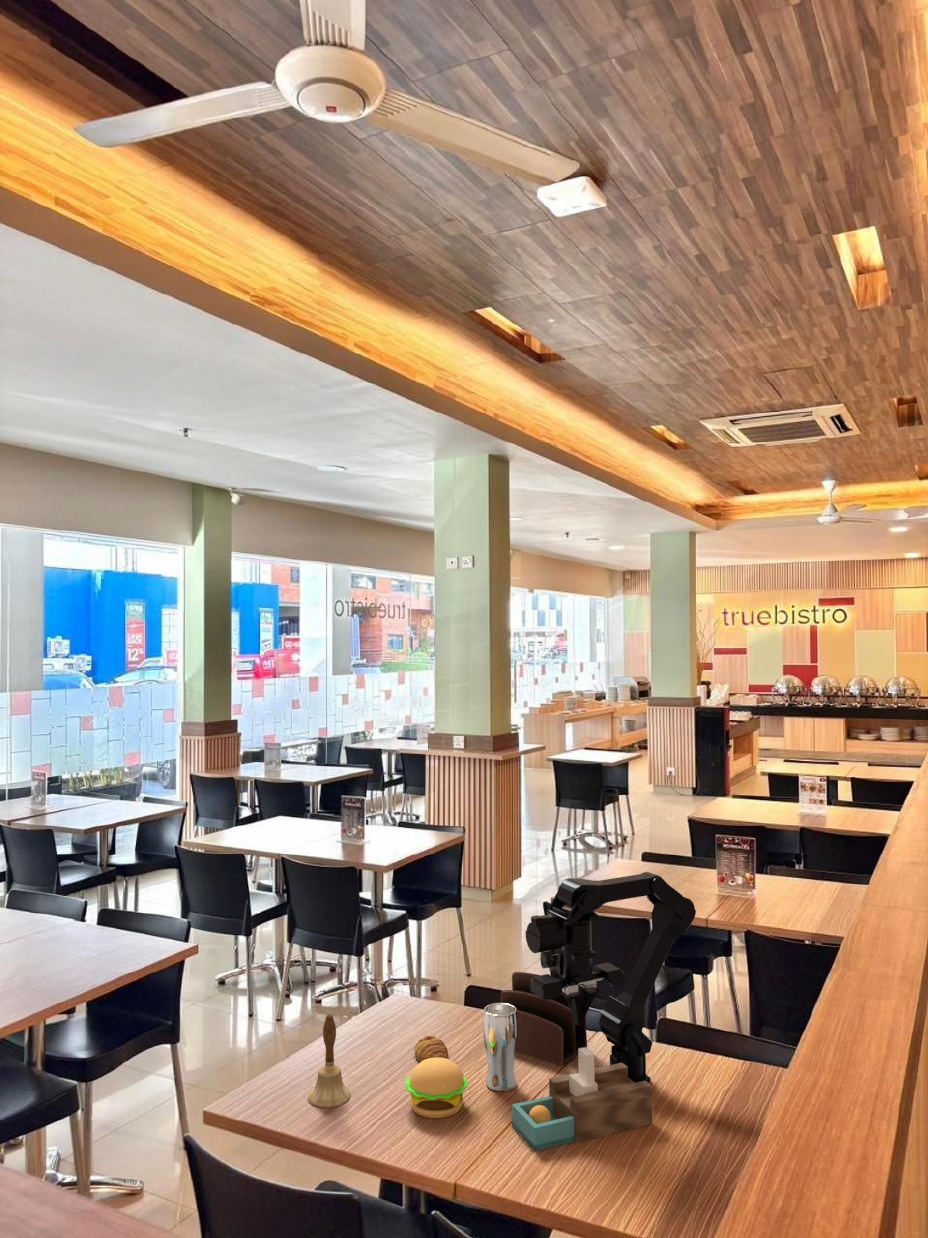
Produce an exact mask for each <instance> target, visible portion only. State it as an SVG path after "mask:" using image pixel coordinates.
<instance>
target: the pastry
mask: <svg viewBox="0 0 928 1238" xmlns="http://www.w3.org/2000/svg"><path fill="white" fill-rule="evenodd" d="M413 1050H414V1055H415V1056H414V1057H415V1058H416V1060H417V1061H418V1062H419V1063H420V1062H422V1061H423V1060H425V1059H429V1058H446V1059H449V1058H450V1056H449V1050H448V1047H447V1046H446V1044H445V1043H444V1041H443V1040H442V1039H440V1038H437V1037H436V1036H435V1035H434V1036H433V1035H426V1036H424V1037H422V1038H420V1039H419V1040H418V1041H417V1042H416V1044H415V1046H414V1048H413Z"/></svg>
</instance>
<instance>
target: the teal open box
mask: <svg viewBox="0 0 928 1238" xmlns="http://www.w3.org/2000/svg"><path fill="white" fill-rule="evenodd" d="M537 1105H542V1106H544V1107H546V1108H547V1109H548V1110H549V1112H550V1114H551V1121H549V1122H544V1123H540V1124H536V1123H535V1122H534V1121H533V1120H532V1119H531V1118H530V1117H529V1113H530V1111H531V1109H532V1108H533V1107H535V1106H537ZM511 1128H513V1129H514V1131H515V1132H517V1134H518V1135H519V1136H520V1137H521V1138H522V1140H524V1141H525V1142H526V1144H527V1145H528V1146H529V1147H530V1148H531V1149H532V1150H533V1151H534V1152H539V1151H542V1150H547V1149H549V1148H554V1147H558V1146H563V1145H566V1144H571V1143H574V1142H575V1119H574V1118H573V1117H572V1116H570V1117H565V1118H561V1119H557V1118H556V1117H555V1116H554V1115H553V1098H552V1097H551V1096H549V1095H548V1096H544V1097H540V1098H534V1099H531V1100H527V1101H522V1102H518V1103H513V1104H511ZM575 1143H576V1142H575Z"/></svg>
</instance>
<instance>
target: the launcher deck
mask: <svg viewBox="0 0 928 1238" xmlns="http://www.w3.org/2000/svg"><path fill="white" fill-rule="evenodd" d="M576 1073H579V1071H578V1072H573V1073H568V1074H563V1075H558V1076H555V1077H554V1076H553V1077H550V1078H549V1079H548V1092H549V1093H548V1096H551V1097H552V1098H553V1115H554V1116H555V1117H556V1118H557V1119H561V1118H565V1117H570V1116H572V1117H573V1118H574V1119H575V1143H576V1144H578V1143H581V1142H585V1141H589V1140H594V1139H598V1138H602V1137H605V1136H608V1135H614V1134H617V1133H622V1132H626V1131H630V1130H633V1129H637V1128H641V1127H645V1126H649V1125H653V1098H652V1097H653V1094H652V1093H653V1090H652V1087H653V1086H652V1084H651V1083H649V1081H648V1082H647V1081H641V1082H637V1083H634V1082H633V1081H632V1080H630V1079H629V1078H628V1067H627V1066H626V1065H624V1064H623V1063H618V1064H613V1065H610V1064H609V1065H605V1066H599V1067H594V1079H595V1082H596V1083H597V1084H598V1091H597V1092H593V1093H588V1094H584V1095H580V1096H574V1095H573V1094H572V1093H571V1092H570V1091H569V1075H571V1074H576Z"/></svg>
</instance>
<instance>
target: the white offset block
mask: <svg viewBox="0 0 928 1238" xmlns="http://www.w3.org/2000/svg"><path fill="white" fill-rule="evenodd" d="M577 1057H578V1059H577V1060H578V1072H579V1073H576V1072H575V1073H576V1074H572V1073H570V1074H571V1075H569V1091H570V1092H571V1093H572V1094H573V1095H574V1096H580V1095H584V1094H588V1093H593V1092H597V1091H598V1084H597V1083H596V1082H595V1079H594V1069H595V1053H594V1052H593V1051H591V1050H590V1049H588V1047H587V1048H586V1047H584V1048H579V1049H578V1056H577Z"/></svg>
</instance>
